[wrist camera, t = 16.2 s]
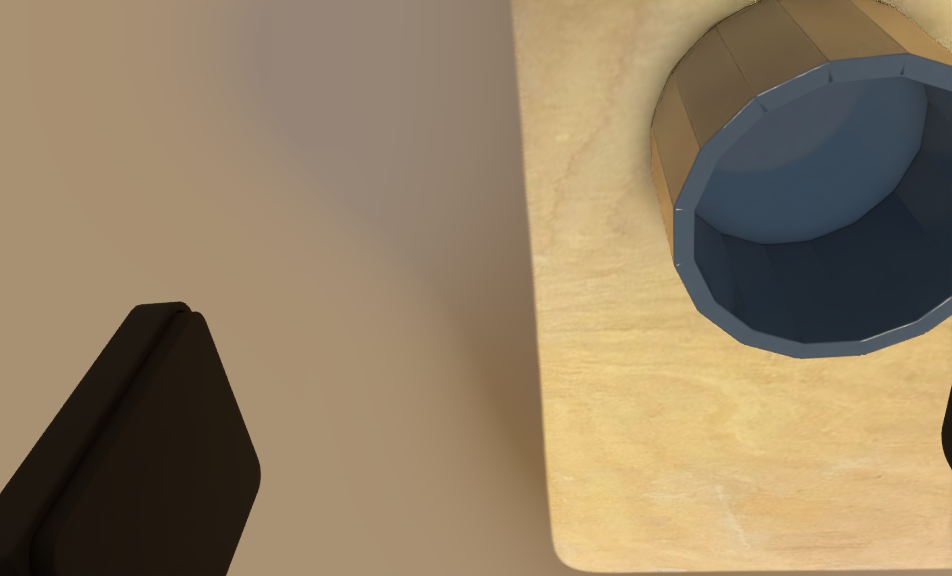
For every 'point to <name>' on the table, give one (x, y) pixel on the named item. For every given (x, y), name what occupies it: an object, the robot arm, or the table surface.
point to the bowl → (811, 176)
